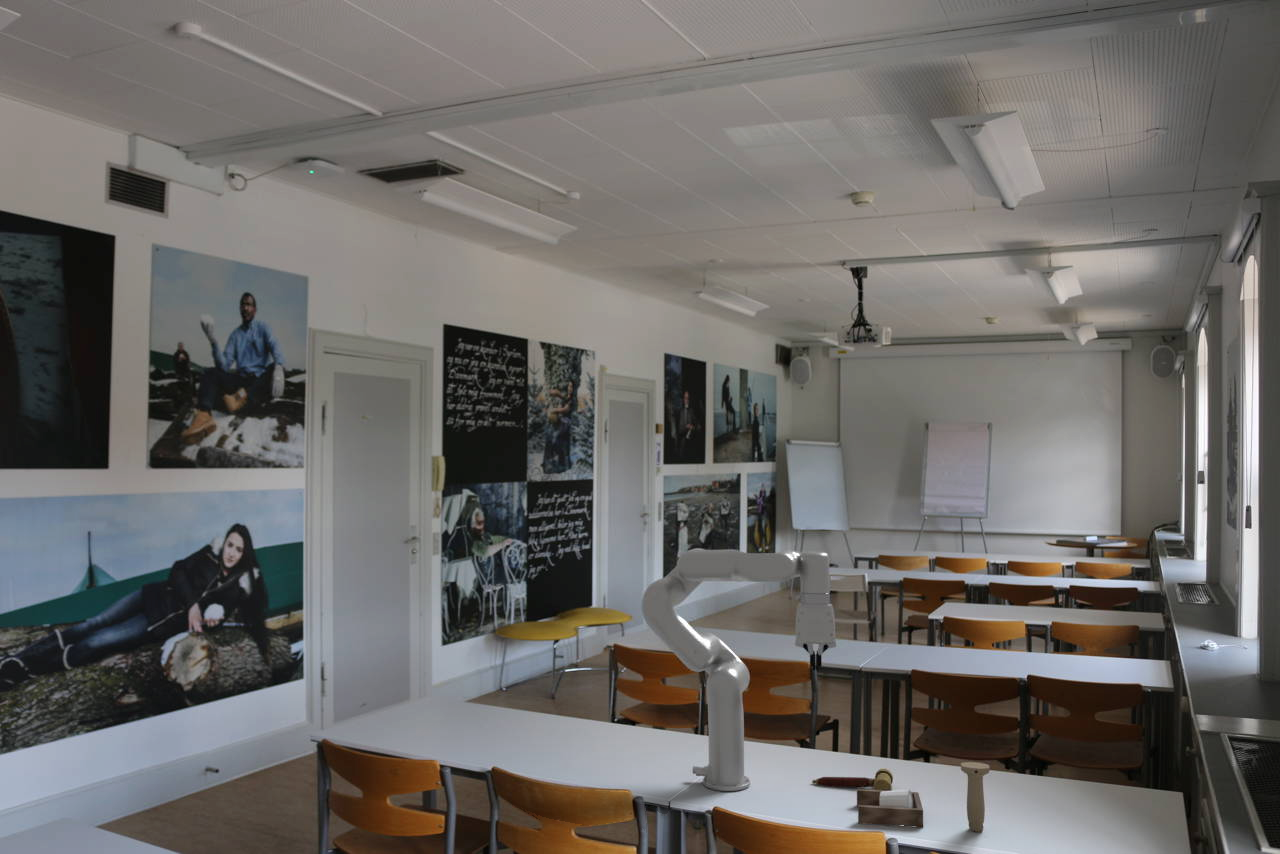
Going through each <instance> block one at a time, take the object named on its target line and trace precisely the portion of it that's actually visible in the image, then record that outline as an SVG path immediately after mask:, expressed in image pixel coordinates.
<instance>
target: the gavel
mask: <svg viewBox="0 0 1280 854" xmlns="http://www.w3.org/2000/svg"><path fill="white" fill-rule="evenodd" d="M893 781H894V776H893V774H892V772H891V771H890V770H889V769H887V768H880V769H878V770H877V771H876V772H875V776H874V778H870V777H860V776H859V777H853V776H846V777H845V776H842V777H841V776H822V777H819V778H816V779H812V784H816V786H821V785H822V786H821V787H830V788H831V787H832V786H833V787H834V788H859V789H863V788H865V789H866V788H873V789H872V790H885V791H893V787H892V784H893ZM833 787H832V788H833Z"/></svg>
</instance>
